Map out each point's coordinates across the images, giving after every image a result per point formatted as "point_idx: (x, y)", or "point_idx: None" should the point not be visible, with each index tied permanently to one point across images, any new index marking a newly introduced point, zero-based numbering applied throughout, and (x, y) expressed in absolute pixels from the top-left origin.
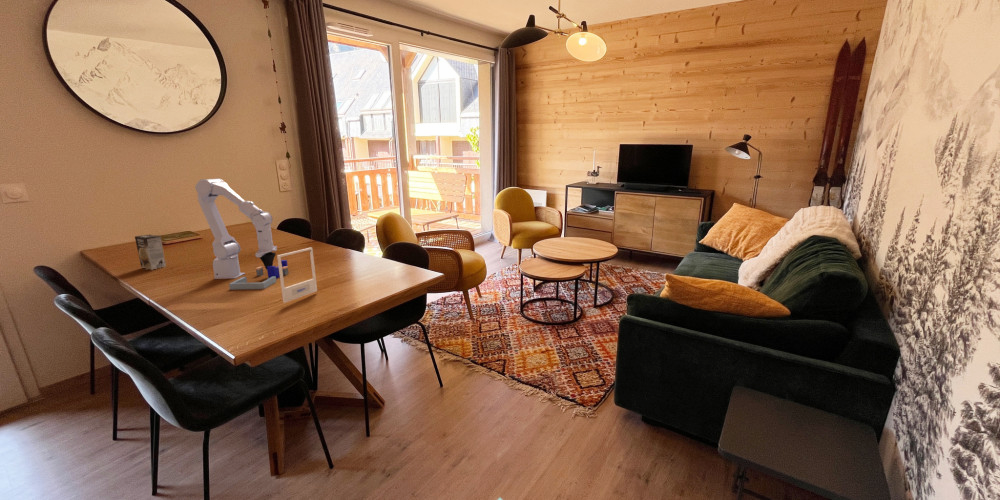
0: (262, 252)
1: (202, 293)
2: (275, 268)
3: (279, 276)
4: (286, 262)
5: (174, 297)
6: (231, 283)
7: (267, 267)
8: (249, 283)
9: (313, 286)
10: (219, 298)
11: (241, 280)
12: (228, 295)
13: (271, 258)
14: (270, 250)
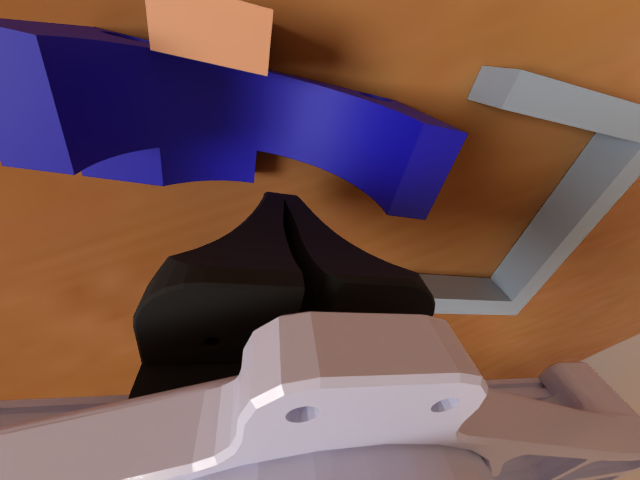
0: (622, 447)
1: (485, 350)
2: (415, 117)
3: (321, 82)
4: (21, 25)
5: None
6: (515, 308)
7: (425, 210)
8: (596, 222)
9: None
10: (612, 275)
11: (450, 293)
12: (595, 260)
13: (328, 252)
14: (480, 426)
